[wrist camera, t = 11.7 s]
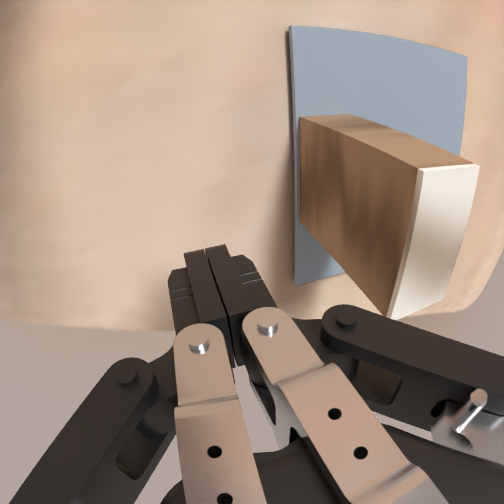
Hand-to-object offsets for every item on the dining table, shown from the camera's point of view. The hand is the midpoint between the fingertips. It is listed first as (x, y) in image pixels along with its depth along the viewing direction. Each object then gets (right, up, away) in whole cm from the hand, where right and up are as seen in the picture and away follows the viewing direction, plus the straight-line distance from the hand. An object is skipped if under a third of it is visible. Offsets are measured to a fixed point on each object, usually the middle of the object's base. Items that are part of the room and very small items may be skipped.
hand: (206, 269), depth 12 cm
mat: (+12, +7, +10) cm, 17 cm away
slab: (+6, +6, +8) cm, 12 cm away
